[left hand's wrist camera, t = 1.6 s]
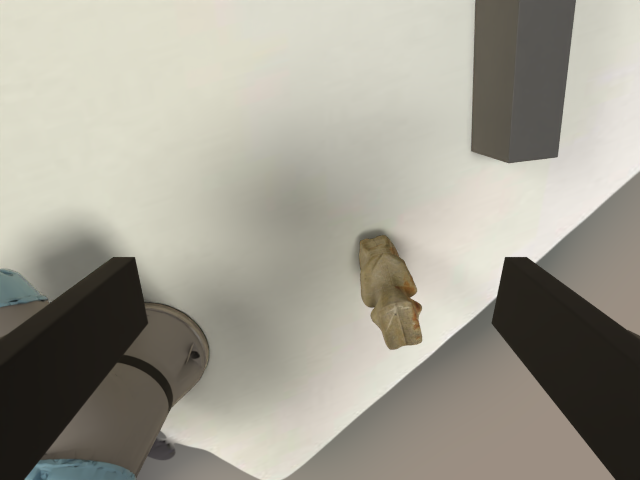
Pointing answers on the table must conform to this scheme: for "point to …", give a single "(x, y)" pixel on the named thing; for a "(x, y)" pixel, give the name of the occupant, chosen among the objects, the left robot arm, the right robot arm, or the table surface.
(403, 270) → the sculpture
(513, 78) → the bar
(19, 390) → the left robot arm
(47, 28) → the table surface
